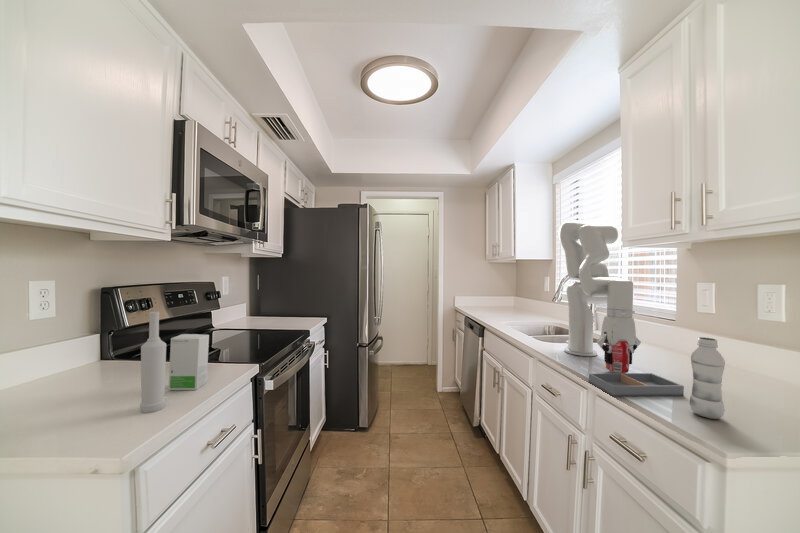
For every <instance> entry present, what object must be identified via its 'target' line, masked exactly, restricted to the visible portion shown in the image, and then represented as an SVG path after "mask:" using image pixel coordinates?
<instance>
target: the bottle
mask: <svg viewBox="0 0 800 533" xmlns="http://www.w3.org/2000/svg"><path fill="white" fill-rule="evenodd" d="M148 320H149V321H148V322H149V323H148V325H149V326H148V327H149V328H148V329H149V330H148V338H147V339H146V341H145V342H144V343H143V344H142V345H141V346H140V367H141V368H140V375H141V376H140V378H141V379H140V380H141V390H140V391H141V402H140V404H139V409H140V412H141V413H143V414H148V413H156V412H158V411H160V410H161V411H162V410H163V409H164V408H165V406H166V398H165V388H166V387H165V386H166V364H167V362H166V361H167V343H166V342H165V341H164V340H162V339H161V337H160V311H151V312H149V313H148Z"/></svg>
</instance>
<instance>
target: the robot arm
mask: <svg viewBox="0 0 800 533" xmlns="http://www.w3.org/2000/svg"><path fill="white" fill-rule="evenodd" d="M558 236H559V242H560V245H561V247H562V249H563V252H564V259H565V265H566V270H567V276H568V278H570V279H571V280H574V281H576V282H572V283H570V284H568V285H567V288H566V296H567V298H566V299H567V303H568V340H565V343H566V344H567V346H566V347H564V351H565V353H567V354H570V355H575V356H581V357H595V356H598V352H597V350H595V349H594V313H593V311H592V309H591V308H590V307H589V305H590V304H591V305H592V304H593V305H605V304H606V316H603V321H602V324H601V332H600V333H601V334H600V337H599V338H598V339H597V340H596V343H597V345H598V346H599V347H600V348H601V350H602V351H603V352H604V357H603V358H604V363H605V362H606V363H608V364H612V359H613V354H612V353H611V352H612V346H614V345H615V344H616V343H617V342H618V340H627V342H628V343H629V347H630V355H629V365H632V364H633V354H634V353H635V351H636V350H637V348H638V347H639V346H640V345H641V343H642V342H641V340H639V338H638V337H637V331H636V323H635V322H636V321H635V319H634V318H633V315H635V310H634V309H633V307H634V306H633V305H634V282H633V281H632V280H630V279H627V278H626V279H623V278H619V277H610V274H609V269H608V266H607V265H606V263H605V262H604V261H607V259H608V258H609V257H610V251H609V248H608V246H607V245H609V244H611V245H612V244H614V243H615V242H616V241H617V240H618V237H619V231H618V229H617V227H616V226H615V225H614V224H612V223H609V222H604V221H599V220H570V221H566V222H564V223H562V224H561V225H560V227H559V231H558ZM577 240H579V241H577ZM577 281H578V282H577ZM607 342H608V343H607ZM607 345H609V348H607Z"/></svg>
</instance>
